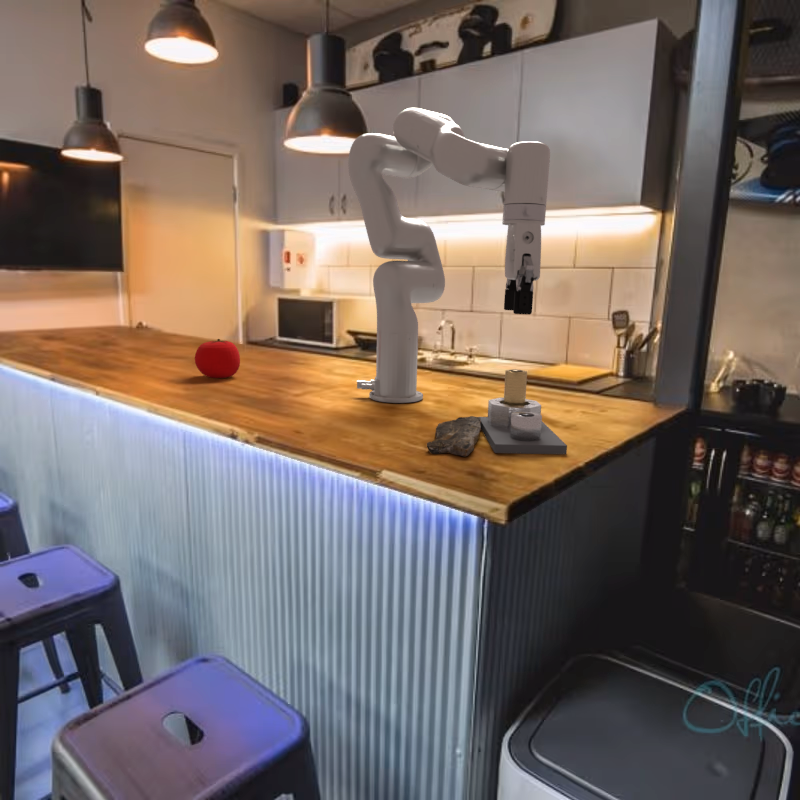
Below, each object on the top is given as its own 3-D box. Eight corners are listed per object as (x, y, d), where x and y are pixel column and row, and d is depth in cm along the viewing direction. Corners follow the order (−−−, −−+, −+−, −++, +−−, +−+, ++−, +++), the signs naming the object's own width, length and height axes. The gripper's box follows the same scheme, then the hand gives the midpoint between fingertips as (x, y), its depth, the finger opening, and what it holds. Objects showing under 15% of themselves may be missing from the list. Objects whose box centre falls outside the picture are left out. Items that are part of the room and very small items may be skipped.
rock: (442, 424, 121) (442, 411, 121) (482, 427, 120) (483, 414, 119) (425, 458, 101) (426, 442, 100) (473, 462, 100) (474, 446, 99)
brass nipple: (526, 425, 116) (529, 372, 113) (504, 425, 115) (507, 371, 113) (521, 420, 119) (524, 368, 117) (500, 420, 119) (503, 368, 117)
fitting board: (494, 453, 103) (495, 444, 102) (477, 424, 122) (478, 416, 122) (566, 454, 103) (567, 445, 103) (538, 425, 123) (538, 417, 122)
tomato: (234, 381, 162) (232, 342, 160) (189, 380, 162) (188, 340, 160) (245, 374, 174) (244, 337, 172) (204, 373, 174) (203, 336, 172)
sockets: (501, 440, 105) (502, 417, 104) (485, 417, 122) (486, 396, 121) (555, 441, 105) (557, 418, 104) (532, 417, 122) (533, 397, 121)
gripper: (556, 213, 103) (548, 316, 106) (534, 220, 120) (527, 309, 123) (512, 211, 103) (505, 315, 106) (495, 219, 120) (490, 308, 123)
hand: (517, 312), depth 115 cm, fingers open, 9 cm apart
